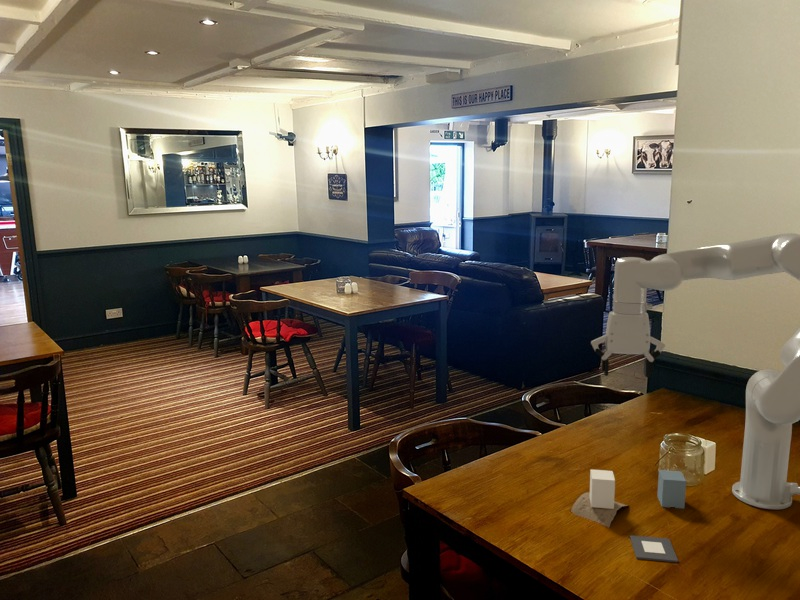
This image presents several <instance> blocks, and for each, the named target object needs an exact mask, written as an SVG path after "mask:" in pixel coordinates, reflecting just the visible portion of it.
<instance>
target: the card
mask: <svg viewBox="0 0 800 600" xmlns="http://www.w3.org/2000/svg"><path fill="white" fill-rule="evenodd" d="M629 539H630V542H631V545H632V548H633V552H634V554H635V555H634V556H635V559H638V560H648V561H659V562H669V563H678V562H679V559H678V557H677V555H676V552H675V549H674V547H673V545H672V542H671V540H670V538H668V537H667V538H666V537H665V538H664V537H655V536H641V535H633V534H632V535H629Z"/></svg>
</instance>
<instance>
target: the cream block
mask: <svg viewBox="0 0 800 600" xmlns="http://www.w3.org/2000/svg"><path fill="white" fill-rule="evenodd" d="M589 471H590V473H589V474H590V475H589V493H590V503H591V507H597V508H609V509H614V501H615V495H616V494H615V491H616V479H615V478H616V477H615V475H614V472H613V470H606V469H605V470H604V469H593V468H592V469H590V470H589Z"/></svg>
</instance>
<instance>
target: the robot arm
mask: <svg viewBox="0 0 800 600" xmlns="http://www.w3.org/2000/svg"><path fill="white" fill-rule="evenodd" d="M779 273H786V274H788V275H790V276H791V277H793V278H795V279H796V280H798V281H799V282H800V234H798V233H792V232H788V233H780V234H775V235H770V236H769V235H768V236H763V237H759V238H753V239H749V240H748V239H747V240H743V241H742V240H740V241H737V242H731V243H725V244H718V245H712V246H705V247H698V248H691V249H685V250H679V251H673V252H668V253H662V254H659V255H657V256H654V257H653V258H652V259H650V260H646V259H645V258H642V257H637V256H628V257H626V256H625V257H620V258H618V259H617V260H616V261H615V264H614V279H613V280H614V281H613V300H612V301H613V303H612V311H609V313H608V317H607V321H606V322H607V323H606V329H605V334H604V335H602V336H599V337H597V338H595V339H593V340H591V341H590V345H591V346H592V349H593V350H594V352H595V354H597V356H598V357H599V358H601V363H600V364H601V366H600V367H601V368H600V369H601V372H603V374H604V376H606V377H607V376H609V365H610V364H609V362H610V361H609V357H610V356H611V355H612V354H622V355H624V354H625V355H643V356H644V357H645V358H644V360H643V361H644V362H643V375H644V377H645V378H649V377H650V374H652V368H653V367H652V366H653V362H654V361H655V359H656V358H658V357H659V356H660V355H661V353H662V351H663V350H664V349H665V347H666V345H665V343H664V342H662V341H661V340H658V339H657V338H655V337H653V336H651V327H650V319H649V317H650V316H649V314H648V313H647V311H648V310H652V309H653V303H649V302H647V292H648V291H647V290H648V289H649V290H657V291H662V292H663V291H664V292H665V291H672V290H676V289H677V288H679V286H680V285H681V284H682V283H683V281H688V280H689V281H690V280H697V279H716V280H723V281H736V280H741V279H747V278H748V279H749V278H754V277H760V276H766V275H774V274H779ZM602 343H604V346H605V349H603V350H601V349H600V348H599V345H600V344H602ZM651 344H653V345H655V346H656V347H655V349H654V350H652V351H651ZM650 351H651V353H650ZM779 359H780V361H781V364H782V365H783V366H784V368H783V369H782V371H779V370H776V369H771V368H770V369H768V368H767V369H761V370H758V371H756V372H755V373H754V374H752V375H751V376H750V378H749V379H748V381H747V384H746V387H745V388H746V389H745V421H744V422H745V423H744V425H745V426H744V433H743V436H744V437H743V445H742V456H741V467H740V468H741V469H740V479H739V481H736V482H735V483H733V484H732V487H731V493H732V494H733V495H734V497H736V498H737V499H738V500H739V501H741V502H743V503H745V504H747V505H750V506H753V507H756V508H760V509H764V510H785V509H787V508H789V507H792V504H793V497H792V496H795V495H799V496H800V486H799V484H798V482H788V481H787V477H788V469H789V460H790V450H791V441H792V434H793V433H792V431H793V424H795V423H796V422H799V421H800V327H798V329H797V330H795V332H794V333H793V335H792V336H791V337H790V338H789V339H788V340H787V341H786V342H785V343H784V345H783V346H782V348H781V349H780V353H779Z"/></svg>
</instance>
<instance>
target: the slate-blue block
mask: <svg viewBox="0 0 800 600" xmlns="http://www.w3.org/2000/svg"><path fill="white" fill-rule="evenodd" d="M657 480H658V482H657V495H656V496H657V499H658V502H659V501H660V502H659V504H660V506H661V507H662V508H670V507H675V508H674V509H685V506H686V503H685V502H686V491H687V490H686V489H687V480H686V478H685V477H684V474H683V473H682V471H680V470H668V469H667V470H665V469H659V470H658V479H657Z"/></svg>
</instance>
